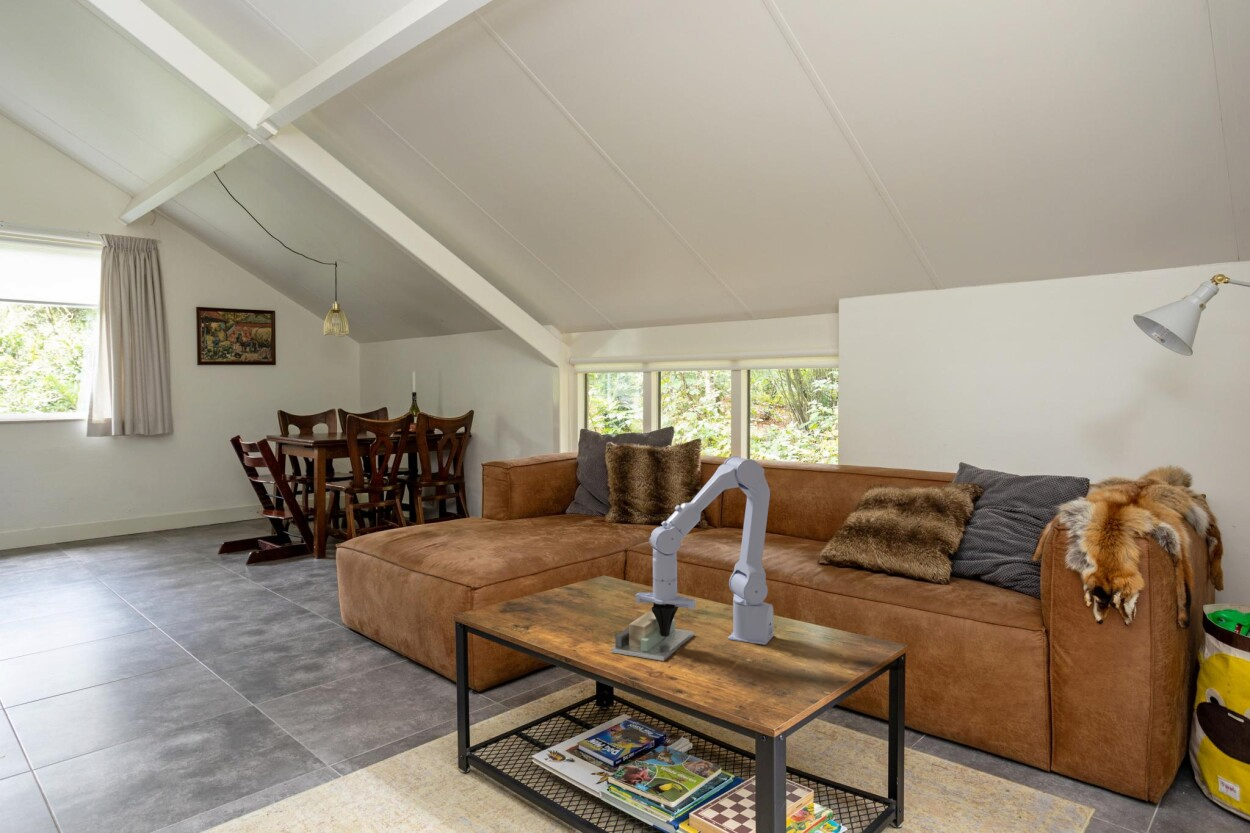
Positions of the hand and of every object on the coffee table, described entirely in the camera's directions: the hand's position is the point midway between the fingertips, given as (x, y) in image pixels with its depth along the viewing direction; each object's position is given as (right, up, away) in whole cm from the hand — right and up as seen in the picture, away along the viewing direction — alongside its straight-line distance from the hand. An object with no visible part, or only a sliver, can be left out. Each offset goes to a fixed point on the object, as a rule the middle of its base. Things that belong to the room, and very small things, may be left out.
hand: (665, 635), depth 177 cm
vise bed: (-3, -2, +1) cm, 4 cm away
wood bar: (-4, -1, +2) cm, 5 cm away
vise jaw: (-2, -1, +1) cm, 2 cm away
